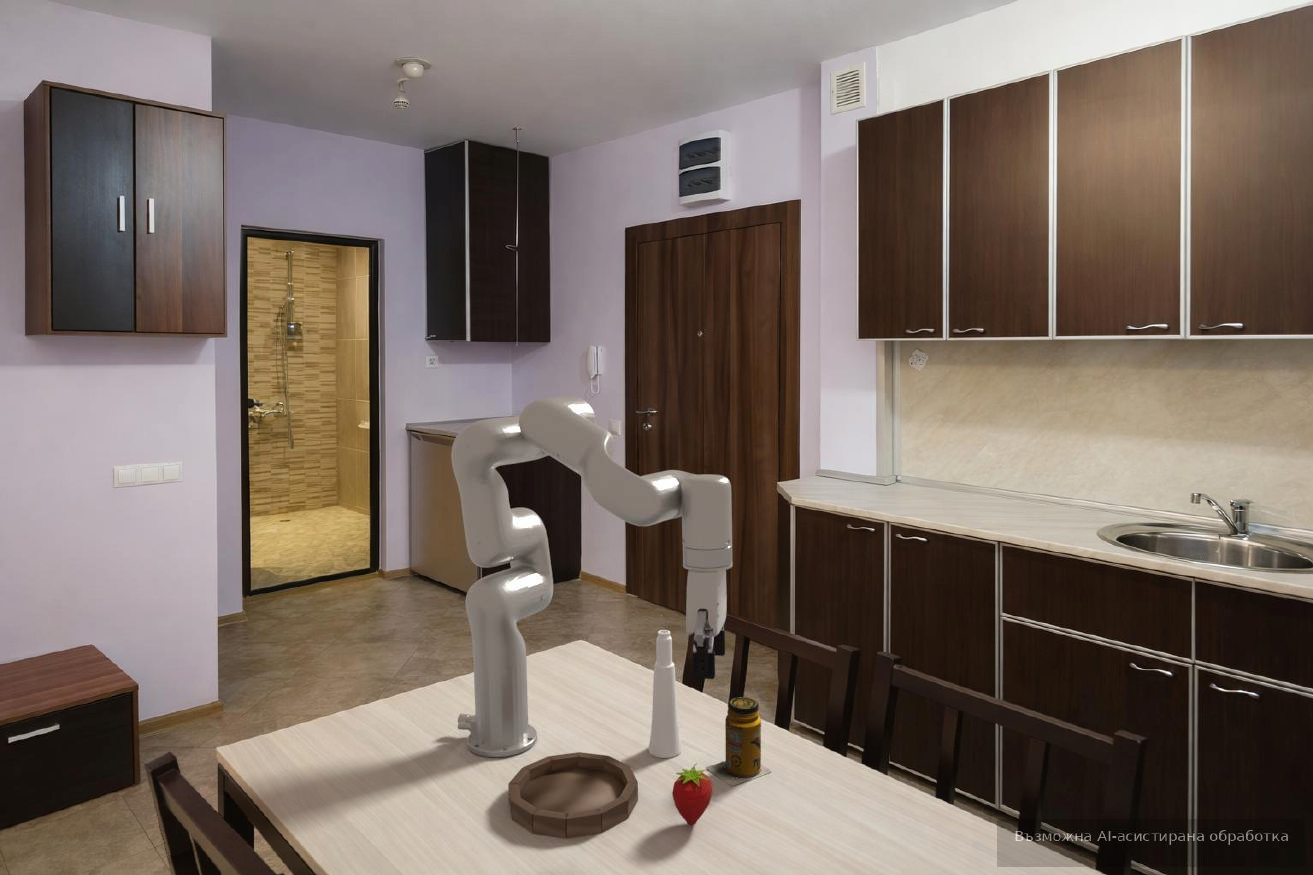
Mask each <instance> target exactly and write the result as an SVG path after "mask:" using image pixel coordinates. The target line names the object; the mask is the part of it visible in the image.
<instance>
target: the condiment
mask: <svg viewBox="0 0 1313 875" xmlns="http://www.w3.org/2000/svg"><path fill="white" fill-rule="evenodd" d="M727 703H728V704H727V713H726V714H727V715H726V716H725V725H724V726H725V727H724V728H725V738H724V739H725V740H724V742H725V761H720V762H718V763H715V764H712V765H708V766H706V769H707V770H709V771H710V772H711V773H712V774H714V775H715V776H716V777H718V778H719V779H721V780H722V781H724V782H726V784H728V785H730V786H731V787H734V786H736V785H739V784H741V783H745V782H747V781H751V780H753V779H757V778H759V777H762V776H765V775H767V774H770V773H771V772H772V771H771V770H770V769H768V768H766V767H764V766H763V765H761V764H762V762H761V761H762V738H761V737H762V734H761V733H762V728H761V727H762V720H761V717H760V713H759V711H760V710H759V707H760V705H759V703H758V701H757V700H755V699H754V698H750V697H746V696H744V697H743V696H739V697H733V698H731V699H730V700H729V701H728V702H727Z"/></svg>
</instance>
